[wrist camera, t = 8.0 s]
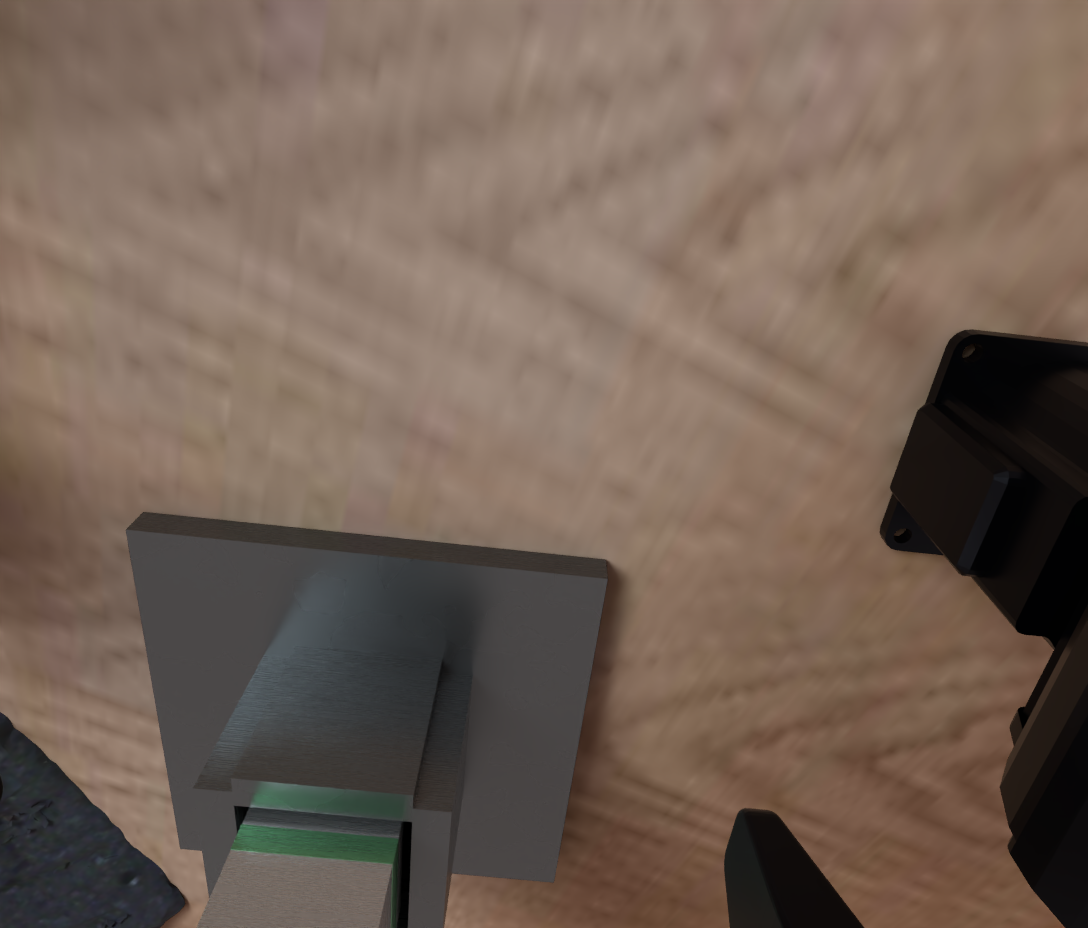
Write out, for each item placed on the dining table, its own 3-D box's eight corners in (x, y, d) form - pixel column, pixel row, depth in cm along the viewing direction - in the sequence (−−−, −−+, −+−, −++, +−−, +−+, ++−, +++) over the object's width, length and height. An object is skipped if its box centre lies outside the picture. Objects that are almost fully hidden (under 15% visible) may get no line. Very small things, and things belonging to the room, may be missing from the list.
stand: (605, 559, 23) (619, 704, 17) (554, 858, 29) (552, 1032, 23) (143, 512, 22) (9, 645, 17) (192, 825, 28) (106, 994, 23)
